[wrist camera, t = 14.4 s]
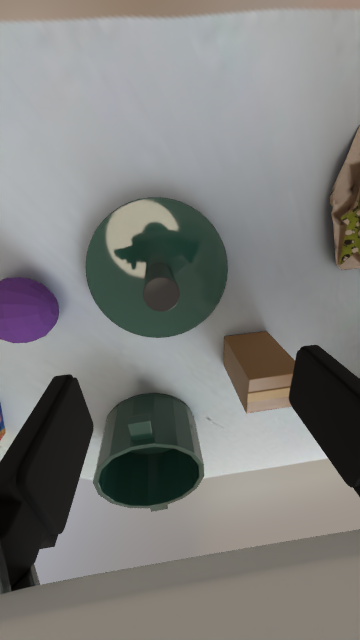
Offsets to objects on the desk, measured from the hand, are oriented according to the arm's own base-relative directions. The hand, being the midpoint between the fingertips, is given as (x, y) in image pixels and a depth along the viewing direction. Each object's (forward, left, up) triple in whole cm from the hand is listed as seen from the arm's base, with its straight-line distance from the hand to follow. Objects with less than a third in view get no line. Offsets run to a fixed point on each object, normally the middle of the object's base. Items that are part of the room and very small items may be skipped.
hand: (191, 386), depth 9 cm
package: (-9, +10, -16) cm, 21 cm away
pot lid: (+1, -1, -16) cm, 15 cm away
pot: (+5, +22, -16) cm, 28 cm away
